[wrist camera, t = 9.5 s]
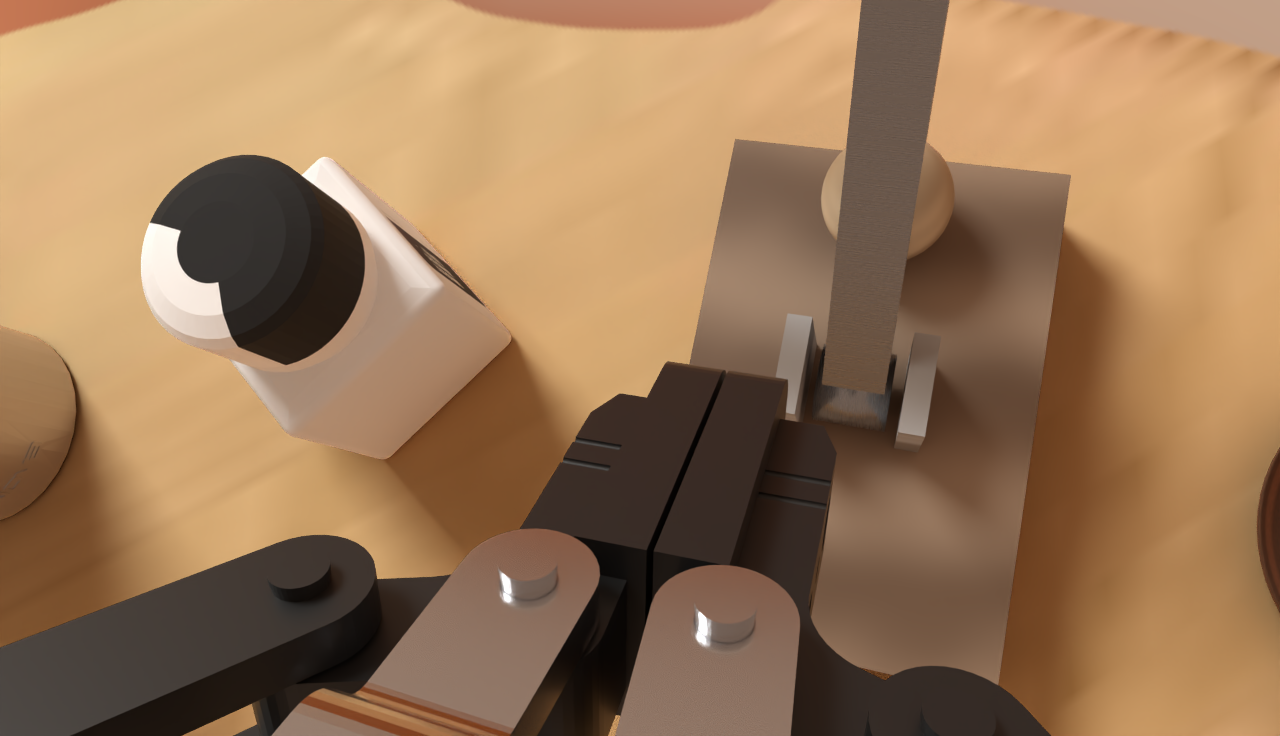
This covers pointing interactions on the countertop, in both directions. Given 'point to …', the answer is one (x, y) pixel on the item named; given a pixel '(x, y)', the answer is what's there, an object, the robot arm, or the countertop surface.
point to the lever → (878, 205)
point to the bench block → (903, 389)
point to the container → (316, 299)
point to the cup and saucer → (1270, 528)
